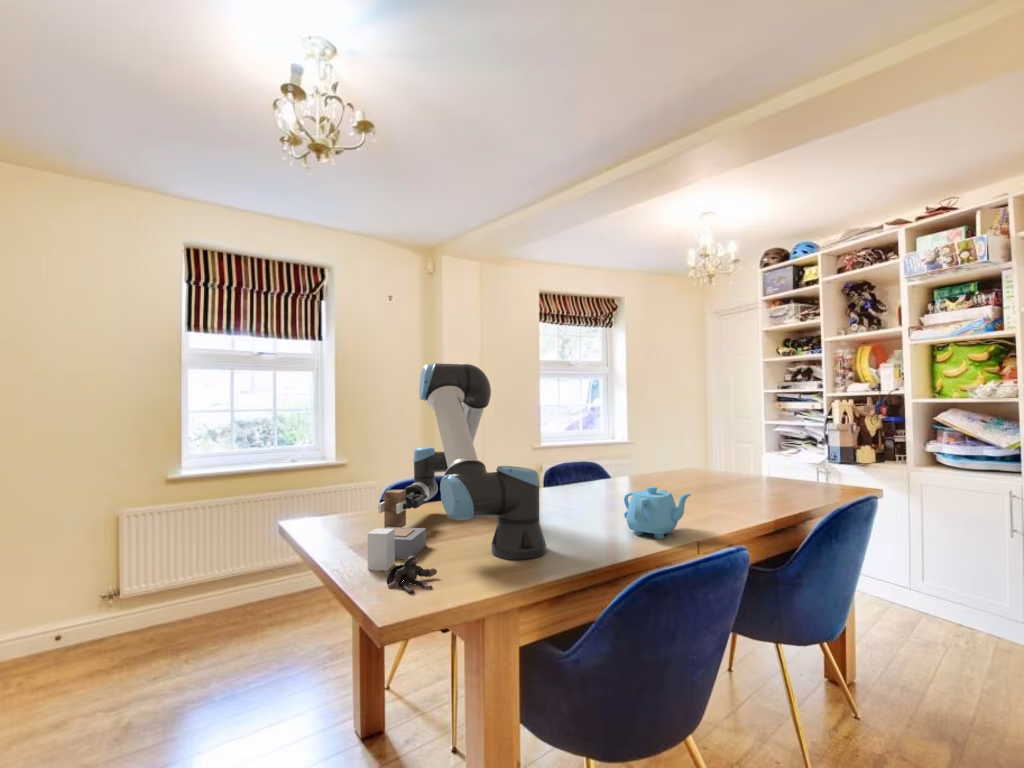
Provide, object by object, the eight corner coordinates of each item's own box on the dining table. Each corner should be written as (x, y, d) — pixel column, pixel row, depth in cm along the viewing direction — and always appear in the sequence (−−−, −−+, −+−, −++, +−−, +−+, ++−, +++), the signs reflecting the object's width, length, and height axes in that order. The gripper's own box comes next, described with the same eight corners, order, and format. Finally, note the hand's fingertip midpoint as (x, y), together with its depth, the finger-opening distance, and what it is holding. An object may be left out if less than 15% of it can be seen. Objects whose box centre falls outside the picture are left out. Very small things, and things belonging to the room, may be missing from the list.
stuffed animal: (393, 593, 106) (384, 549, 115) (388, 621, 110) (379, 576, 119) (446, 583, 111) (433, 541, 120) (439, 610, 115) (427, 568, 125)
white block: (394, 564, 127) (394, 528, 128) (386, 570, 122) (386, 534, 123) (376, 563, 128) (376, 528, 128) (367, 569, 123) (367, 533, 123)
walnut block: (405, 524, 157) (405, 489, 157) (399, 528, 152) (399, 492, 152) (390, 524, 157) (390, 489, 158) (384, 528, 153) (384, 492, 153)
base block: (426, 545, 143) (426, 527, 143) (411, 558, 131) (411, 538, 131) (386, 544, 145) (386, 526, 145) (368, 557, 133) (368, 537, 133)
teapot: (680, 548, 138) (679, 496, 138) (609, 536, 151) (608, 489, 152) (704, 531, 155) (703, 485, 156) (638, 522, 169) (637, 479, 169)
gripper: (440, 506, 171) (417, 522, 148) (390, 505, 174) (360, 520, 151) (440, 484, 171) (417, 496, 148) (390, 483, 174) (360, 495, 151)
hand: (388, 508), depth 150 cm, fingers closed on walnut block, 5 cm apart
